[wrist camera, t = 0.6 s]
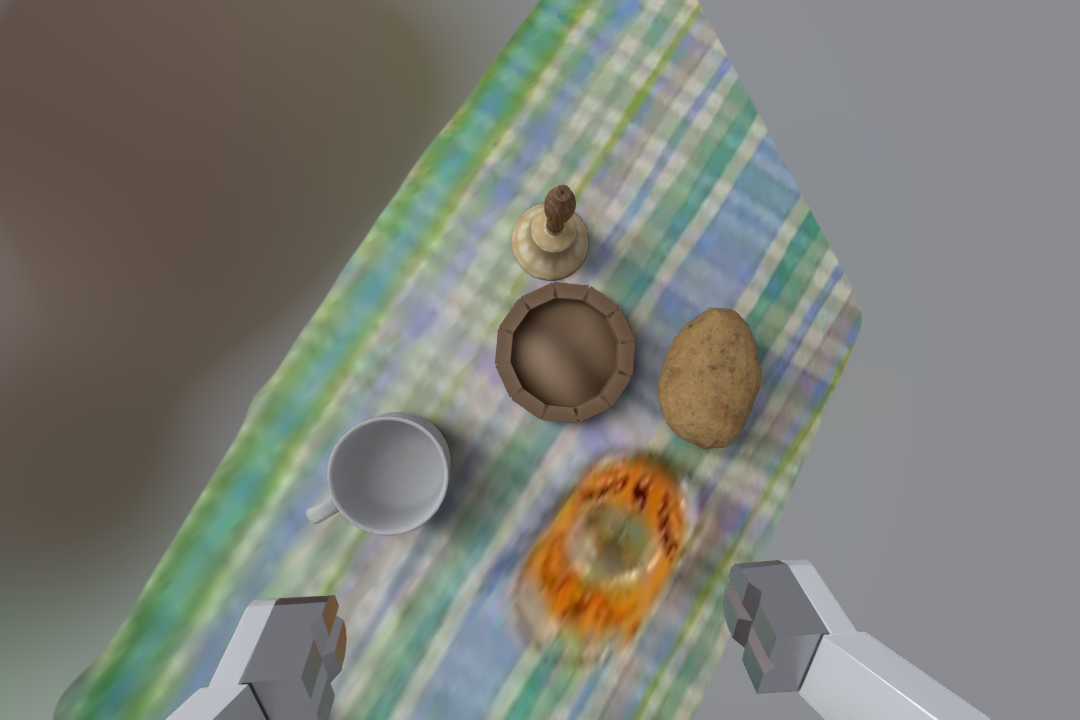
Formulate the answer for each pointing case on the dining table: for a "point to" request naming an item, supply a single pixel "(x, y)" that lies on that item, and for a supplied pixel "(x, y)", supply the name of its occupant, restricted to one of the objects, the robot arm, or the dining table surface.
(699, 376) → the potato
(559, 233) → the hand bell
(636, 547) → the dining table surface
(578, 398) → the tray
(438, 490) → the teacup
